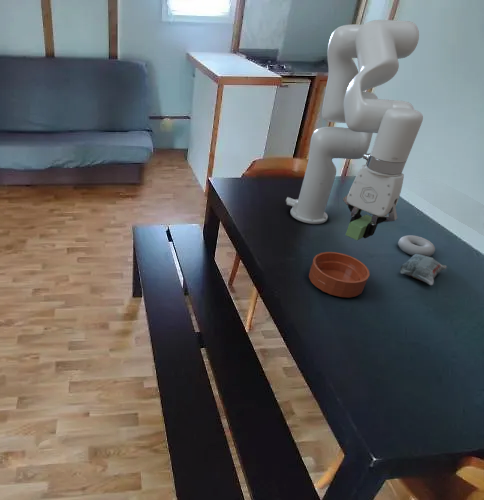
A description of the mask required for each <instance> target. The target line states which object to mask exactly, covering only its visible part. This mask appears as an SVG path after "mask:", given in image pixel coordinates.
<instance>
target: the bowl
mask: <svg viewBox="0 0 484 500" xmlns="http://www.w3.org/2000/svg"><path fill="white" fill-rule="evenodd" d="M370 277H371V274H370V269H369V268H368V267H367V265H366V264H364V263H363V262H362V261H361V260H359V259H358V258H356V257H353V256H351V255H349V254H346V253H341V252H336V251H325V252H320V253H318V254H316V255H314V257H313V259H312V261H311V265H310V268H309V271H308V279H309V281H310V282H311V284H312V285H314V286H315V287H316V288H317V289H318V290H320V291H321V292H323V293H325V294H328V295H331V296H334V297H339V298H354V297H357V296H359V295H361V294H363V291H364V290H365V288H366V286H367V283H368V280H369V278H370Z"/></svg>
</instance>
